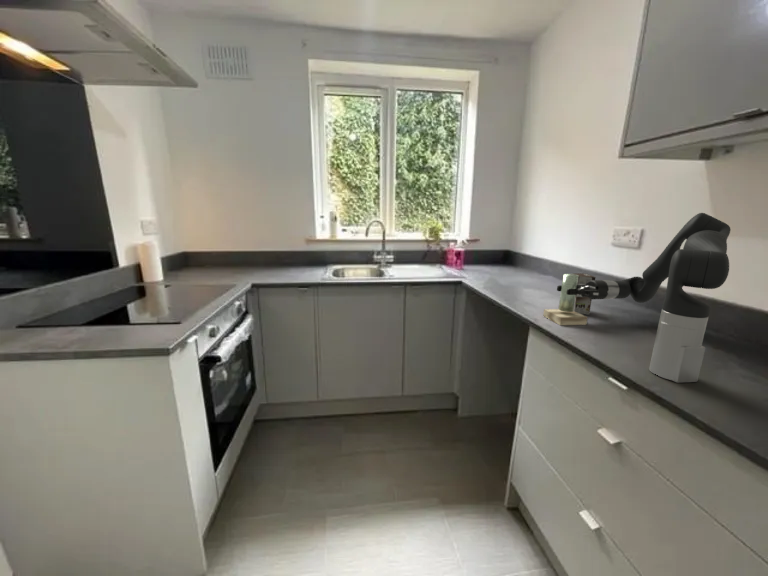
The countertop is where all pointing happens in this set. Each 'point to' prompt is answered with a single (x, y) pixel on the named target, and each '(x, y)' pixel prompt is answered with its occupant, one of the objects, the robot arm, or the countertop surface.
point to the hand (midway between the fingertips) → (562, 290)
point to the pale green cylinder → (566, 300)
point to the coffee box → (581, 303)
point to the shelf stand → (565, 317)
